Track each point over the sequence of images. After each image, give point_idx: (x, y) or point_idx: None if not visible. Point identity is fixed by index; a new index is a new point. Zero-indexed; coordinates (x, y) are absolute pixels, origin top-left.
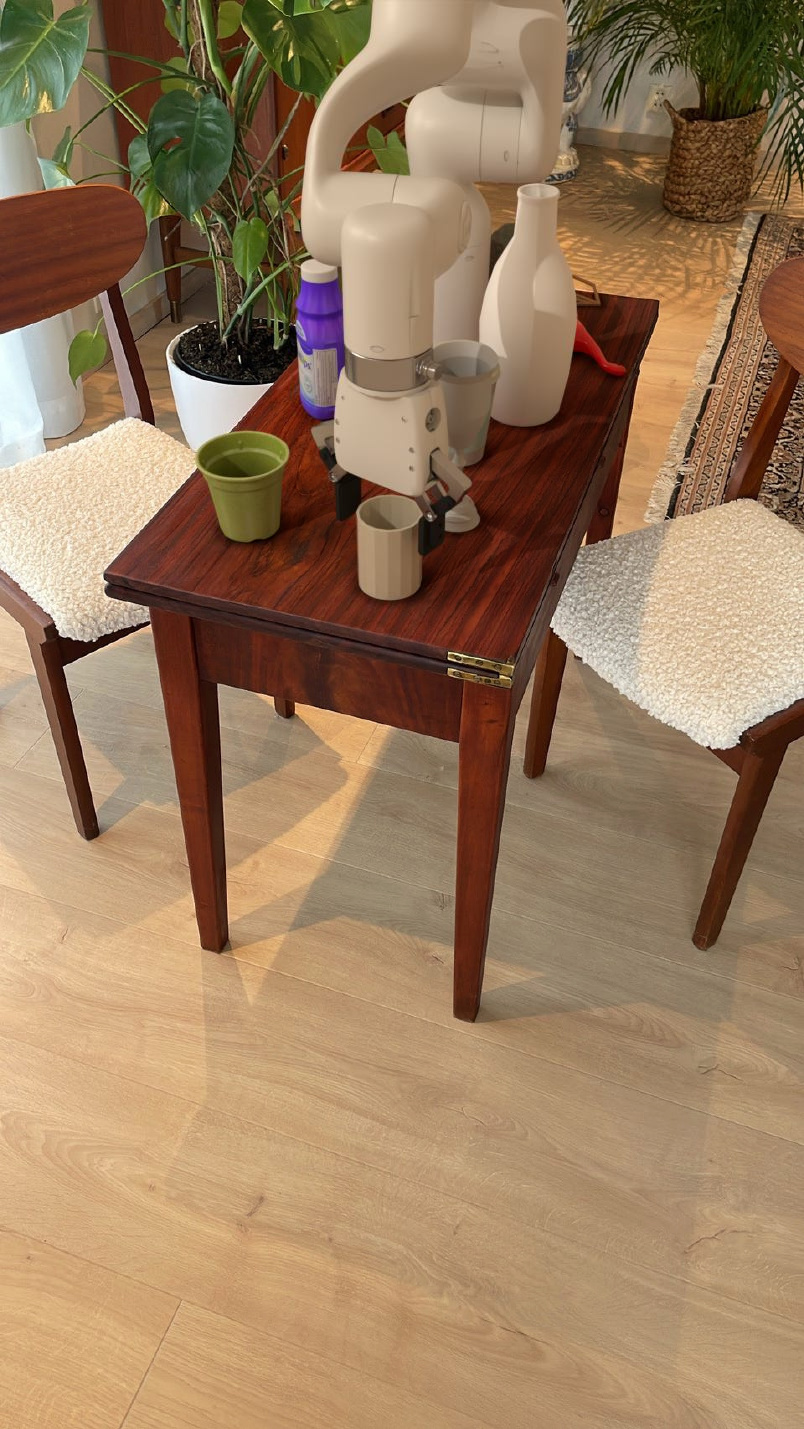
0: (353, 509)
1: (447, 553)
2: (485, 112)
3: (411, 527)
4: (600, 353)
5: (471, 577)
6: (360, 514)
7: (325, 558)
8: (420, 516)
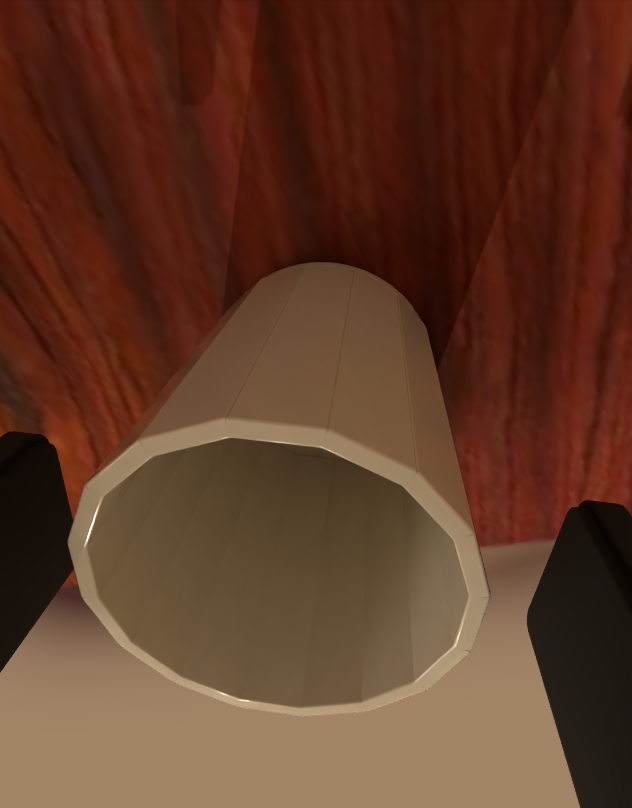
0: (49, 513)
1: (431, 70)
2: None
3: (467, 650)
4: None
5: (603, 183)
6: (134, 601)
7: (78, 366)
8: (473, 565)
